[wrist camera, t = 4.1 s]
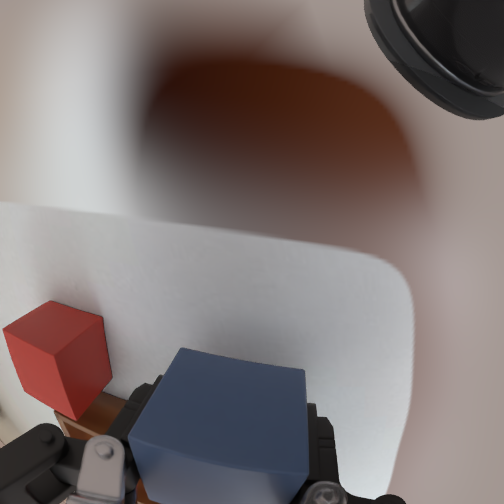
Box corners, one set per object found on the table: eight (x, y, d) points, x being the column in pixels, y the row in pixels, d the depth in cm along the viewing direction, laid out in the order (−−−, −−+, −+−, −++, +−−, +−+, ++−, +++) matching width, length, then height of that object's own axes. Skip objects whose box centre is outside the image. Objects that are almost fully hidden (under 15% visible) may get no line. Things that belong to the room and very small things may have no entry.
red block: (50, 299, 14) (2, 328, 10) (102, 316, 14) (53, 356, 10) (62, 357, 15) (24, 391, 11) (112, 377, 15) (76, 421, 11)
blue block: (180, 345, 10) (125, 436, 5) (305, 368, 9) (310, 475, 5) (181, 422, 11) (148, 499, 6) (280, 441, 10) (273, 526, 6)
